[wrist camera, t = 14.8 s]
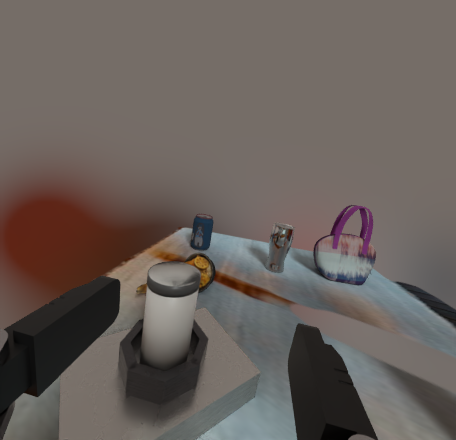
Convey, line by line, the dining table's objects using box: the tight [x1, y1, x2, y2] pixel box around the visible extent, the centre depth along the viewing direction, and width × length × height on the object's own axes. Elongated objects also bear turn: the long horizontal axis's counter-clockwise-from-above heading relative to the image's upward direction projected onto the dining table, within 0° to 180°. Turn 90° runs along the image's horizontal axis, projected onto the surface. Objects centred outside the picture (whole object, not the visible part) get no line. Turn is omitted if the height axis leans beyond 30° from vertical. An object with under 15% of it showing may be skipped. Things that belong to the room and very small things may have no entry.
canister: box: [139, 261, 201, 371], centre depth 24 cm, size 6×6×12 cm
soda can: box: [191, 214, 213, 251], centre depth 75 cm, size 7×7×12 cm
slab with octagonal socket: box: [59, 307, 261, 440], centre depth 26 cm, size 20×14×7 cm
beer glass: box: [265, 223, 295, 273], centre depth 68 cm, size 7×7×15 cm
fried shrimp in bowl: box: [136, 253, 216, 294], centre depth 46 cm, size 9×11×18 cm
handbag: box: [314, 205, 376, 285], centre depth 70 cm, size 21×10×25 cm, turn 89°
